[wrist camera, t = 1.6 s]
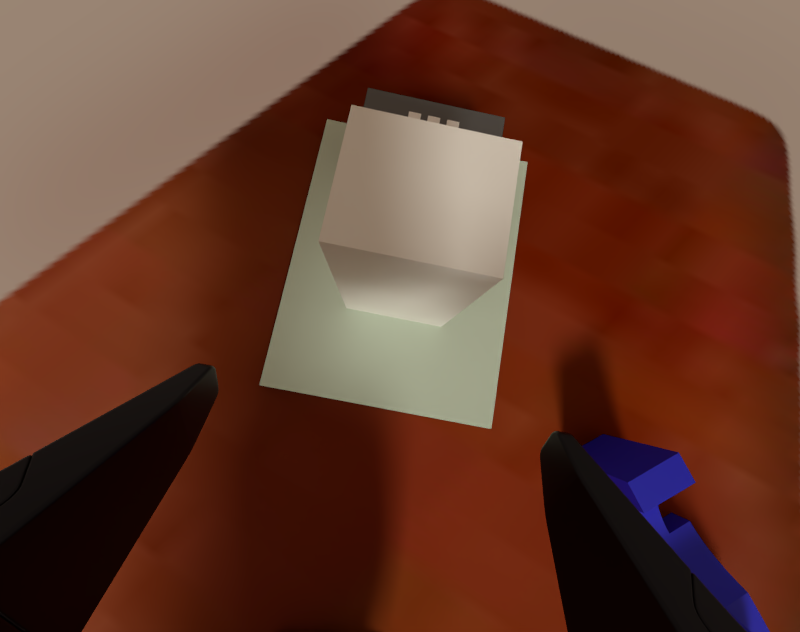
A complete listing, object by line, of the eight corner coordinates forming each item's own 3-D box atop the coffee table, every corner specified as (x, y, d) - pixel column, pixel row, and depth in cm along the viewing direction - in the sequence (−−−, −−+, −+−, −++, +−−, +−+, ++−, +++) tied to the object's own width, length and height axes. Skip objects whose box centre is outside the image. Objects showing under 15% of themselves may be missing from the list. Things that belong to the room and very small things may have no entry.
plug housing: (441, 326, 22) (503, 278, 11) (346, 308, 22) (318, 241, 11) (453, 252, 23) (522, 141, 12) (362, 233, 23) (351, 104, 12)
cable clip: (721, 606, 22) (850, 691, 16) (662, 646, 21) (772, 750, 15) (620, 422, 23) (703, 438, 17) (562, 455, 23) (627, 482, 17)
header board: (486, 426, 22) (518, 440, 17) (264, 384, 22) (231, 387, 17) (521, 170, 26) (557, 120, 21) (329, 129, 25) (317, 67, 20)
